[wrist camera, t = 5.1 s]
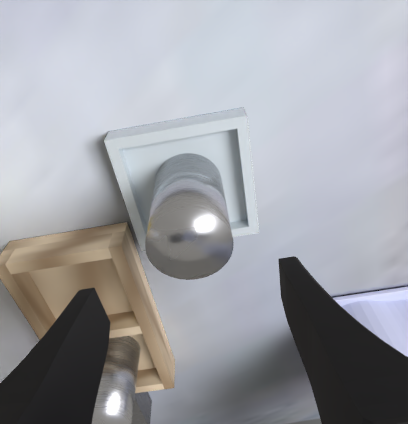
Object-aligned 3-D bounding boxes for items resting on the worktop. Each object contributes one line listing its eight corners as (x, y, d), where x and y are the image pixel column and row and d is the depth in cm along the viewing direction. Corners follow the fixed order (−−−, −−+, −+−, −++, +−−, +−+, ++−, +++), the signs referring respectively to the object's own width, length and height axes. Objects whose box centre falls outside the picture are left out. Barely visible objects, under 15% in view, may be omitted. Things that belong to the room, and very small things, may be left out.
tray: (243, 107, 20) (247, 115, 18) (255, 220, 24) (259, 232, 22) (108, 131, 20) (104, 140, 19) (143, 238, 24) (141, 251, 23)
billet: (216, 147, 20) (227, 202, 15) (225, 207, 22) (238, 272, 17) (147, 159, 20) (134, 218, 15) (163, 217, 22) (156, 285, 17)
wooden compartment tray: (127, 222, 23) (121, 245, 21) (174, 360, 31) (174, 387, 29) (9, 241, 24) (-8, 266, 22) (86, 373, 32) (79, 400, 30)
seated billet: (132, 329, 27) (120, 407, 22) (146, 360, 30) (137, 438, 24) (82, 336, 28) (59, 415, 23) (99, 367, 30) (81, 445, 25)
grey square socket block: (136, 367, 32) (133, 395, 30) (151, 401, 35) (149, 428, 32) (71, 376, 32) (63, 404, 30) (91, 409, 35) (85, 436, 33)
